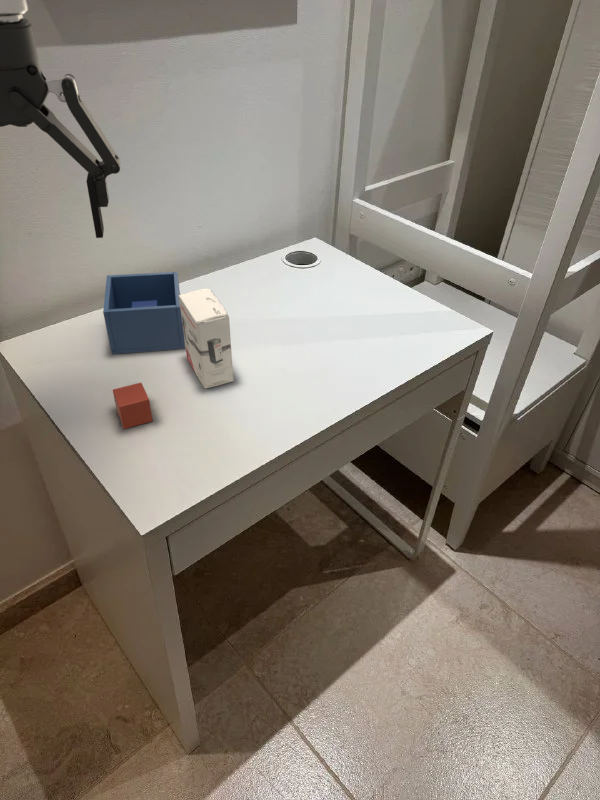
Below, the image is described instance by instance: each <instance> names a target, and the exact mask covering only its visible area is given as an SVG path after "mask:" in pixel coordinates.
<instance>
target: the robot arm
mask: <svg viewBox="0 0 600 800" xmlns="http://www.w3.org/2000/svg"><path fill="white" fill-rule="evenodd" d="M28 11H29V5H28V0H0V128H2V127H6V126H14V127H18V128H27V127H28V126H29V125H32V124H35V126H37V128H39V129H40V130H41V131H42V132H43V133H44V132H45V133H46V134H47V135H48V136H49V137H50V138H51V139H52V140H53V141H55V142H56V143H57V144H58V145H59V146H60V147H61V148H62V149H63V150H64V151H65V152H66V153H67V154H68V155H69V156H70V157H71V158H73V160H74V161H76V162H77V163H78V165H80V166H81V167H82V168H83V169H84V170H85V171H86V172H87V176H86V186H87V187H86V188H87V192H88V193H87V194H88V198H89V205H90V210H91V216H92V222H93V227H94V232H95V238H96V239H103V238H104V231H105V227H104V220H103V215H102V214H103V213H102V208H108V206H109V202H110V196H109V189H108V183H107V182H108V181H107V177H108V176H110V175H112V174H113V175H116V174H118V173H120V172H121V171H120V170H121V159H120V157H119V156H118V154H117V152H116V150H115V149H114V147H113V146H112V144H111V143H110V141H109V140H108V139H107V137H106V135H105V133H104V132H103V131H102V128H101V127H100V125H99V124H98V122H97V121H96V120H95V118H94V117H93V115H92V113H91V112H90V110H89V109H88V107H87V105H86V104H85V102H84V100H83V99H82V98H81V93H80V90H79V87H78V82H77V79H76V78H75V75H73V74H71V73H66V74H65V75H64V76H62V77H55V78H53V77H52V78H47V77H45V75H44V73H43V72H42V70H41V69H42V68H41V66H40V61H39V54H38V51H37V45H36V39H35V35H34V31H33V27H32V23H31V22H29V19H27V18H25V17H24V15H25V14H26V13H28ZM49 93H53V94H54V95H55V96H56V97H57V99H58V100H59V101H60V102H61V103H66V106H67V107H68V108H67V109H68V110H69V111H70V113H71V115H72V116H73V117H74V119H75V121H76V122H77V124H78V126H79V127H80V128H81V130H82V131H83V133H84V135H85V136H86V137H87V139H88V140H89V142H90V143H91V145H92V146H93V148H94V149H95V152H96V153H97V154H98V156H99V157H100V158H101V159H99V158H98V157H97V156H96V155H94V154H93V152H91V150H90V149H89V148H87V147H86V145H84V143H83V142H81V141H80V140H79V139H78V137H76V136H75V135H74V133H72V132H71V130H69V129H68V128H67V127H66V126H65V125H64V124H63V123H62V122H61V121H60V120H59V119H58V118H57V116H56V115H55V114H54V113H53V111H52V110H50V108H48V106H46V104H44V103H45V102H46V99H47V97H48V95H49Z"/></svg>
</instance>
